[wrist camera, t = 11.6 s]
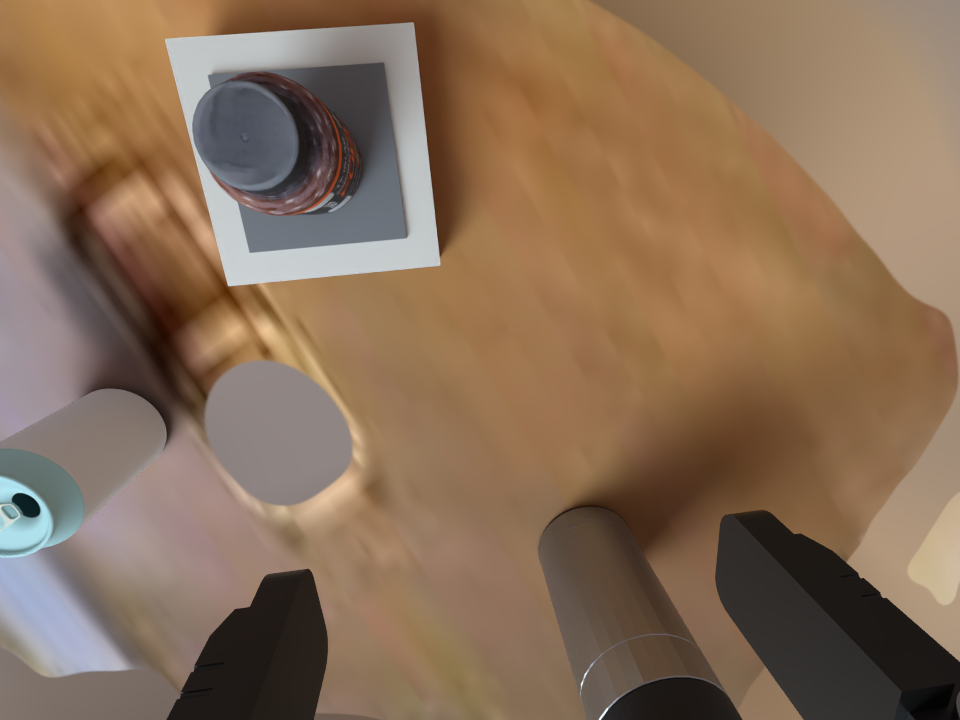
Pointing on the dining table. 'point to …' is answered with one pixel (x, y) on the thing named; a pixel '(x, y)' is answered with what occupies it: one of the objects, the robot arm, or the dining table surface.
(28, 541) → the can
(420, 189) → the white and gray stand
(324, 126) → the supplement bottle
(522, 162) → the dining table surface
